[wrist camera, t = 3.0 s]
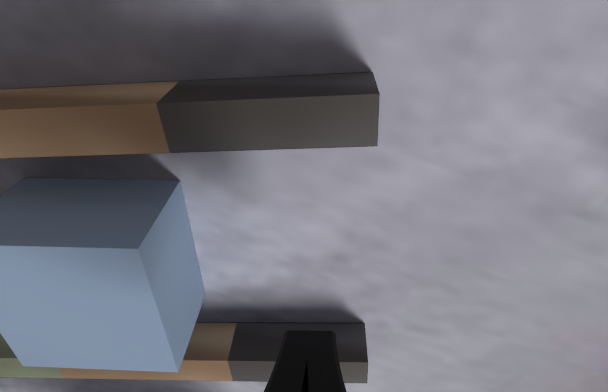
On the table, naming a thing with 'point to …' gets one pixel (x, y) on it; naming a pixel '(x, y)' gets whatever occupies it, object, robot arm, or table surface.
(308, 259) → the table surface
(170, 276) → the slate block
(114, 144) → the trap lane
